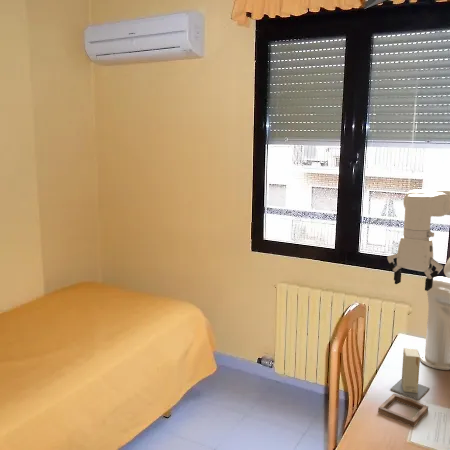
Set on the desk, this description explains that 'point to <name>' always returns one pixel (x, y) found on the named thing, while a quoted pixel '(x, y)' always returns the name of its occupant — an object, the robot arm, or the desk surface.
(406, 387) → the skincare box
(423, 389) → the rubber mat
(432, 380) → the desk surface
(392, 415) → the square wooden frame
